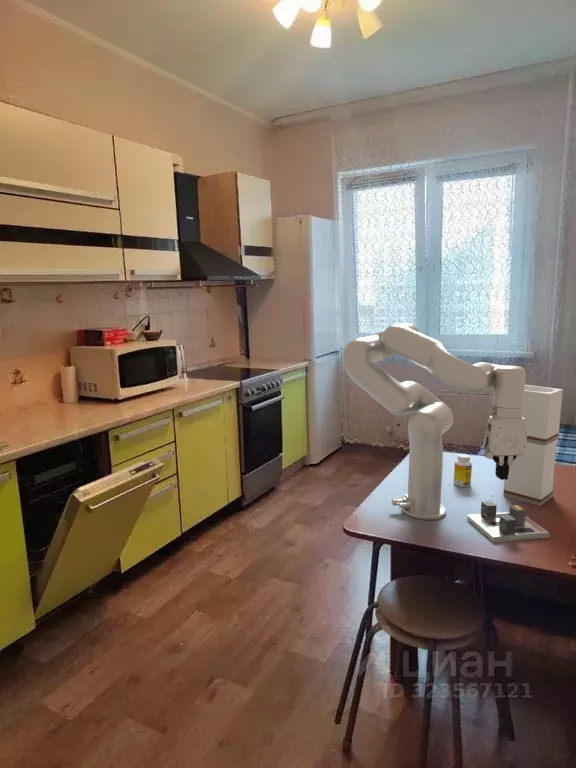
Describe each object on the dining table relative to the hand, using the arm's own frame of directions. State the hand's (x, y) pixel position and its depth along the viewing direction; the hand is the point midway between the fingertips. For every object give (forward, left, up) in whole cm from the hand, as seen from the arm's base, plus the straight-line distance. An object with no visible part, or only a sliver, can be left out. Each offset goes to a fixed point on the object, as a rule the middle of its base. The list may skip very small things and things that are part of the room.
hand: (501, 477), depth 143 cm
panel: (+2, 0, -15) cm, 15 cm away
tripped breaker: (+6, 0, -13) cm, 14 cm away
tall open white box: (+22, +20, -15) cm, 34 cm away
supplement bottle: (+6, +33, -15) cm, 37 cm away
